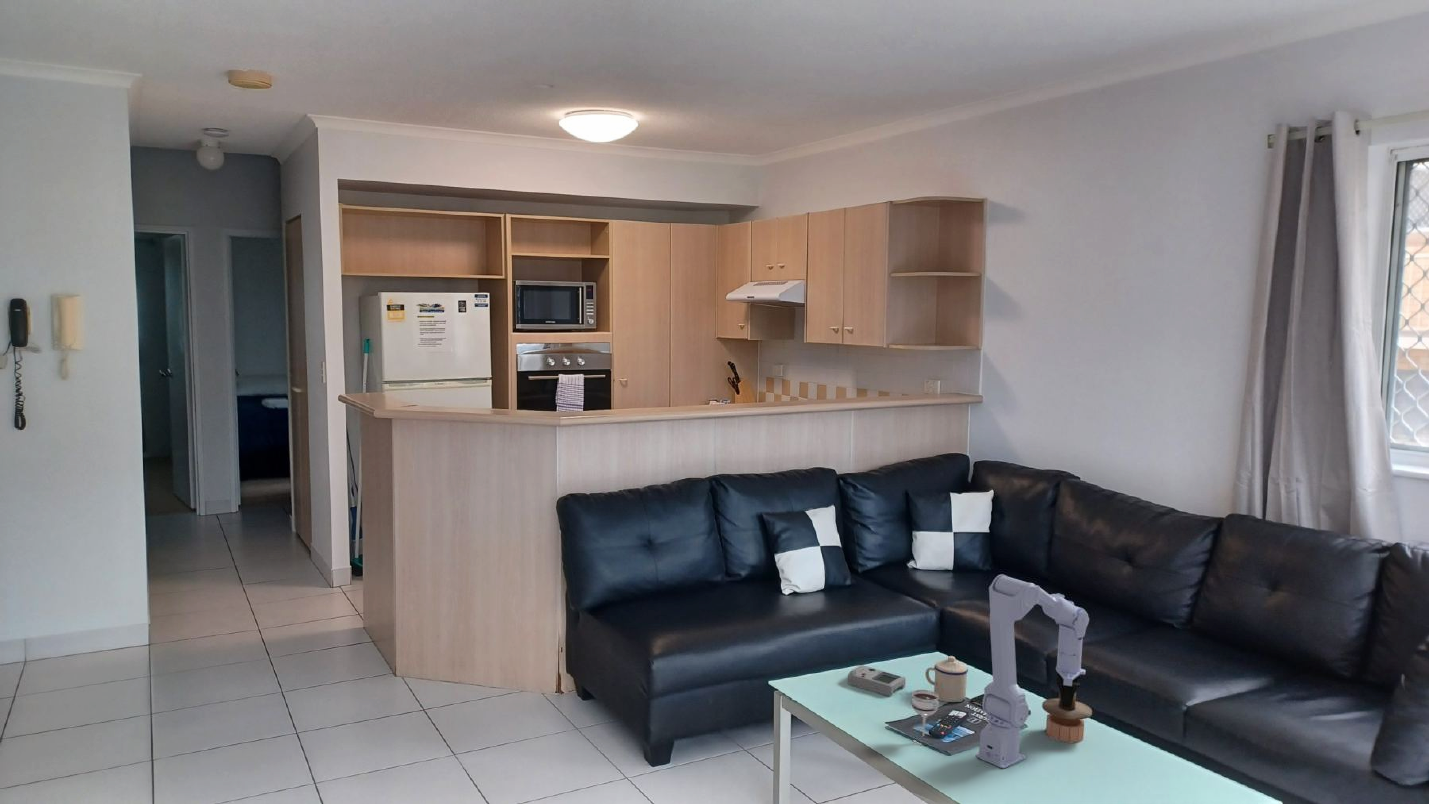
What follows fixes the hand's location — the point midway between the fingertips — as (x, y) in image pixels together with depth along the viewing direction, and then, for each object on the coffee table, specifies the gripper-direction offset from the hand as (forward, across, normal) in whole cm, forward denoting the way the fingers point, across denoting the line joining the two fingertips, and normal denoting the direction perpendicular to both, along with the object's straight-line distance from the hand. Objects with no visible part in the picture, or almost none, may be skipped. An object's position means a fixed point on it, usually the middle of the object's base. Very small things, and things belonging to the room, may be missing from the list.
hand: (1066, 703), depth 245 cm
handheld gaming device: (+9, +12, +52) cm, 54 cm away
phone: (+9, +11, +17) cm, 22 cm away
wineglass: (+9, -19, +33) cm, 39 cm away
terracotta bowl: (+8, 0, 0) cm, 8 cm away
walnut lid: (+2, 0, 0) cm, 2 cm away
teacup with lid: (+9, +13, +32) cm, 35 cm away
